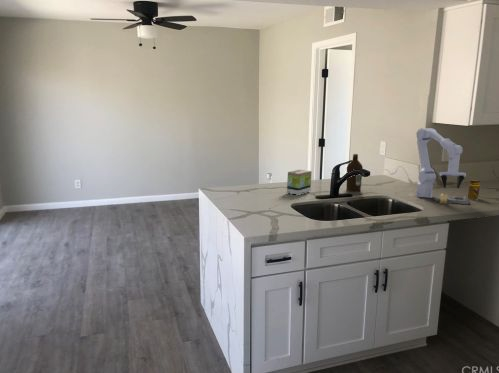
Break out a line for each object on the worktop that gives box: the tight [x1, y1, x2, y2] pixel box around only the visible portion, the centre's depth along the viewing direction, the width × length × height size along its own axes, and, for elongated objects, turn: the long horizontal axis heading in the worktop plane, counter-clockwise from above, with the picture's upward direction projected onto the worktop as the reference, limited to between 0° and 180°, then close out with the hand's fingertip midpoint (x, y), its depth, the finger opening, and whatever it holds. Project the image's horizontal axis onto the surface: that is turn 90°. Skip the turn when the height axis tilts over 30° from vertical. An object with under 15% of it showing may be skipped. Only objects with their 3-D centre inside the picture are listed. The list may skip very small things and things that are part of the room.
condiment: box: [463, 179, 480, 201], centre depth 269 cm, size 7×8×12 cm
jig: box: [435, 194, 470, 206], centre depth 262 cm, size 18×11×2 cm, turn 67°
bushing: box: [438, 192, 449, 206], centre depth 255 cm, size 4×4×6 cm
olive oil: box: [346, 153, 364, 192], centre depth 289 cm, size 11×11×25 cm
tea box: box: [286, 169, 312, 196], centre depth 280 cm, size 15×10×15 cm, turn 143°
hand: (451, 187), depth 256 cm, fingers open, 7 cm apart
